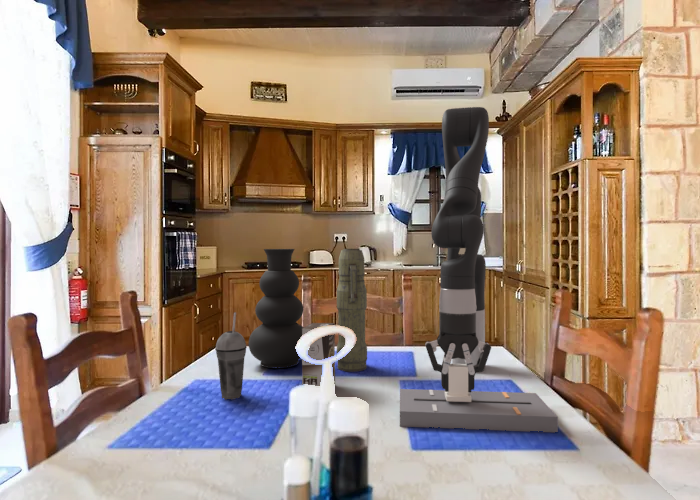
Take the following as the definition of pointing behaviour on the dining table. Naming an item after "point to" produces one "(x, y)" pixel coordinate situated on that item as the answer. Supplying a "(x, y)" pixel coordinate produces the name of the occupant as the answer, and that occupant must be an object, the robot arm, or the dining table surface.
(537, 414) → the fader console
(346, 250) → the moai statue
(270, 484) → the dining table surface
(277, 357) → the vase
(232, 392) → the beverage cup
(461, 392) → the fader tab
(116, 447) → the dining table surface
